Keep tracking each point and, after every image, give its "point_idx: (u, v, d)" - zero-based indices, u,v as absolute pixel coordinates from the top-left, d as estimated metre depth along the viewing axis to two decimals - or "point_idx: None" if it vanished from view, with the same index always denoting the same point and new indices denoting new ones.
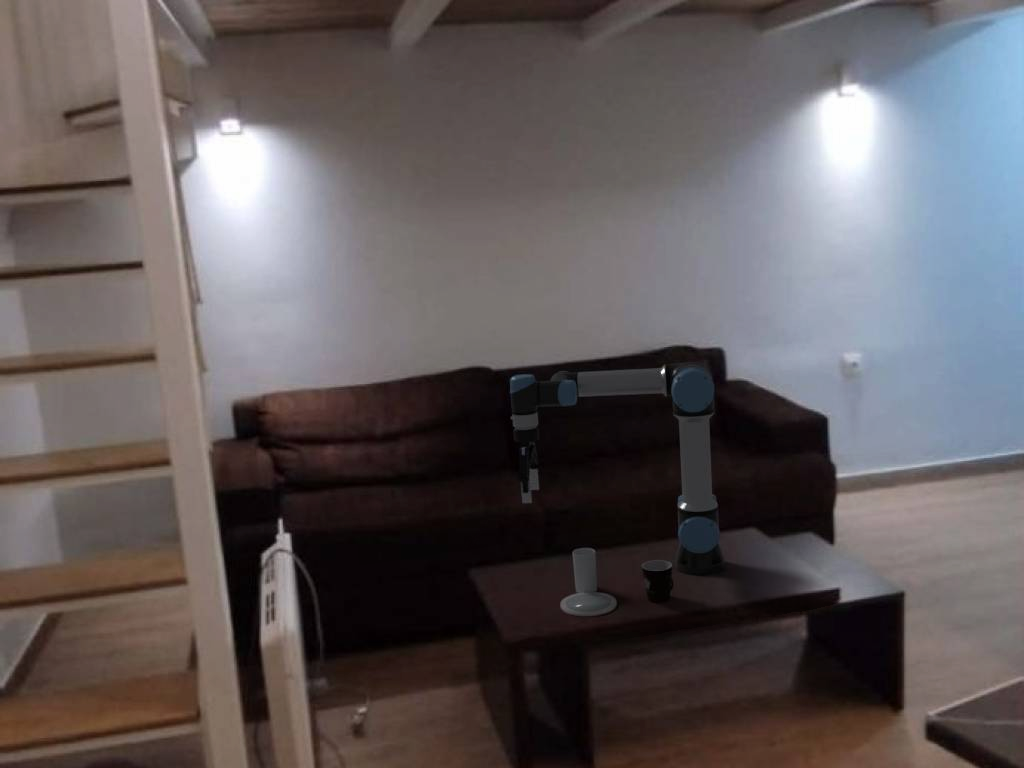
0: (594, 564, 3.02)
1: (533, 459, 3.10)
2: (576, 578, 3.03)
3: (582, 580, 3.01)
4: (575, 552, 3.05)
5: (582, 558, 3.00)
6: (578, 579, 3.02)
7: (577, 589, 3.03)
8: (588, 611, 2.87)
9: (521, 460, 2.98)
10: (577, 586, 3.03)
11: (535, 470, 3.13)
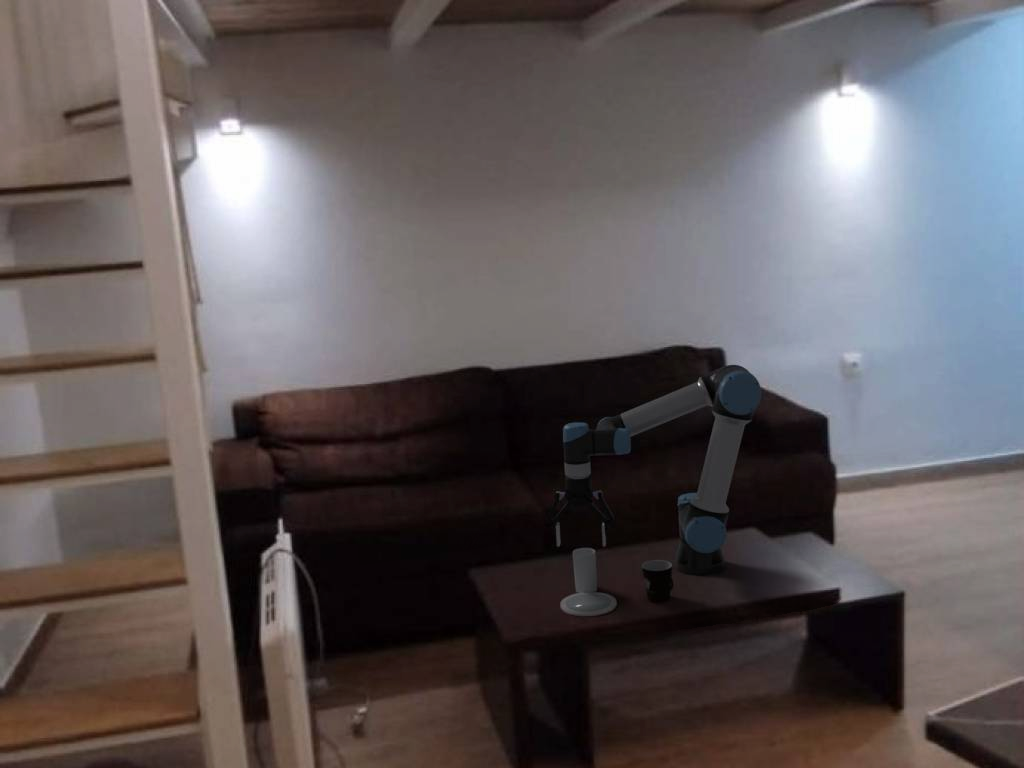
0: (594, 564, 3.02)
1: None
2: (576, 578, 3.03)
3: (582, 580, 3.01)
4: (575, 552, 3.05)
5: (582, 558, 3.00)
6: (578, 579, 3.02)
7: (577, 589, 3.03)
8: (588, 611, 2.87)
9: None
10: (577, 586, 3.03)
11: (602, 525, 3.01)
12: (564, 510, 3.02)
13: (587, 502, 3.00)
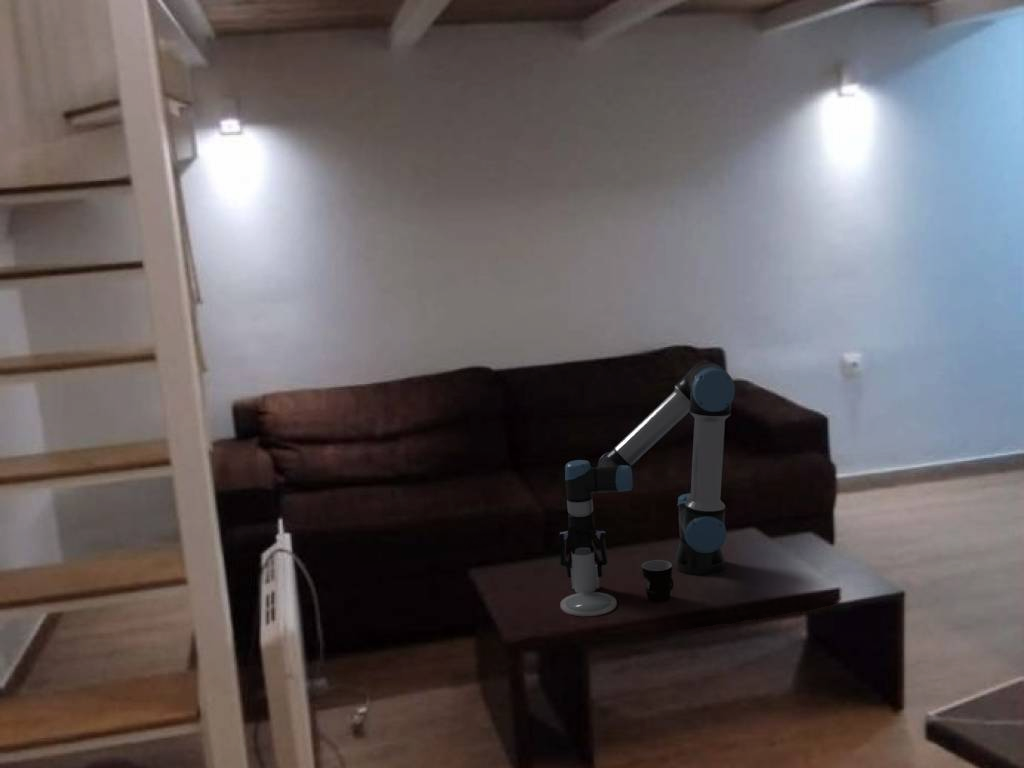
0: (593, 564, 3.02)
1: None
2: (575, 578, 3.03)
3: (581, 580, 3.01)
4: None
5: (581, 558, 3.00)
6: (577, 578, 3.02)
7: (576, 589, 3.03)
8: (588, 611, 2.87)
9: None
10: (576, 586, 3.03)
11: None
12: (573, 550, 3.04)
13: (588, 540, 3.02)
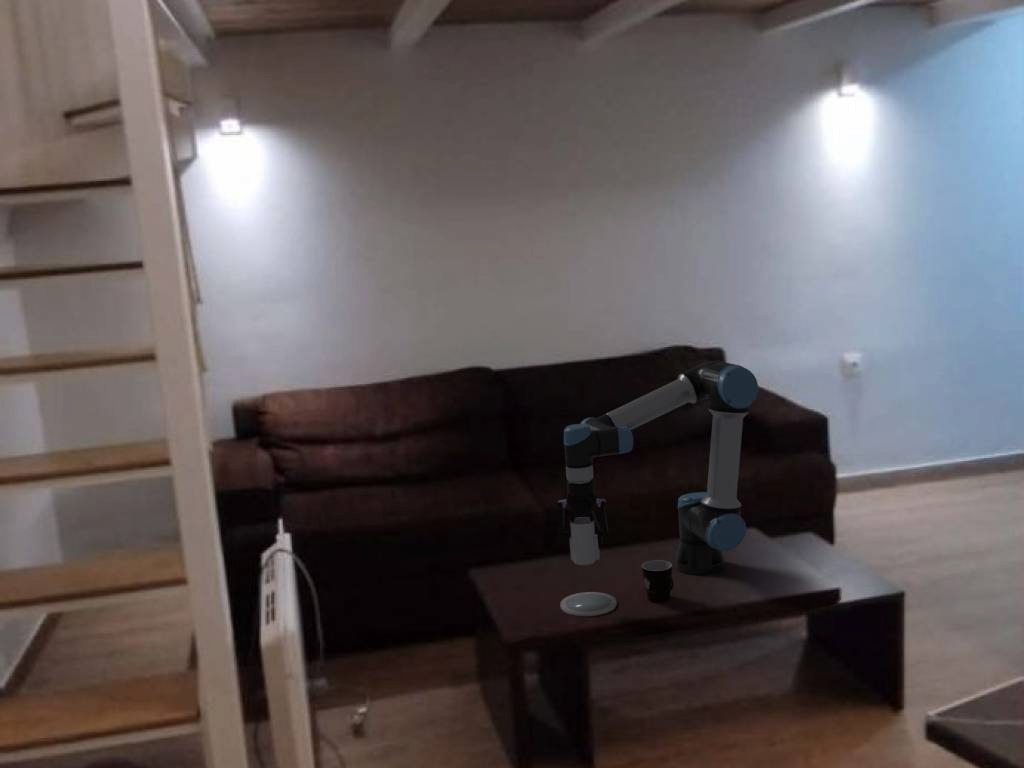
0: (593, 534, 2.86)
1: None
2: (574, 548, 2.87)
3: (580, 550, 2.86)
4: None
5: (580, 527, 2.85)
6: (576, 549, 2.87)
7: (575, 560, 2.88)
8: (588, 611, 2.87)
9: None
10: (575, 557, 2.88)
11: (595, 538, 2.89)
12: (572, 519, 2.88)
13: (588, 509, 2.87)
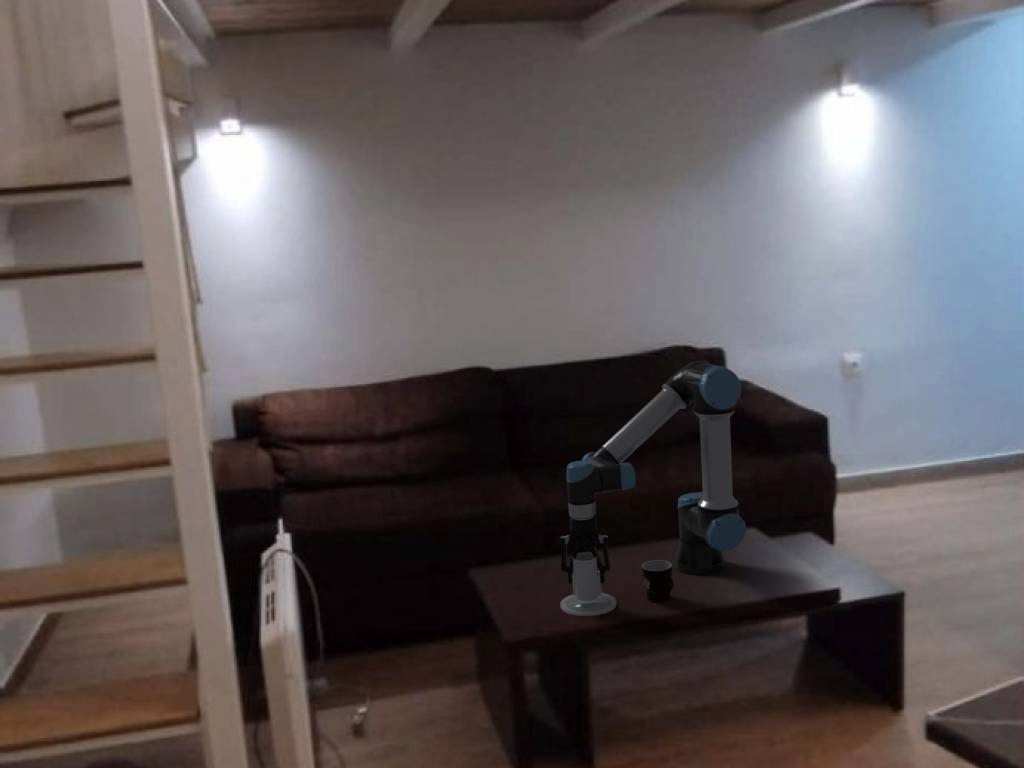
0: (595, 570, 2.88)
1: None
2: (576, 584, 2.89)
3: (582, 586, 2.88)
4: None
5: (582, 563, 2.86)
6: (578, 585, 2.88)
7: (577, 596, 2.90)
8: (588, 611, 2.87)
9: None
10: (577, 593, 2.90)
11: (597, 574, 2.91)
12: (574, 555, 2.90)
13: (591, 545, 2.88)
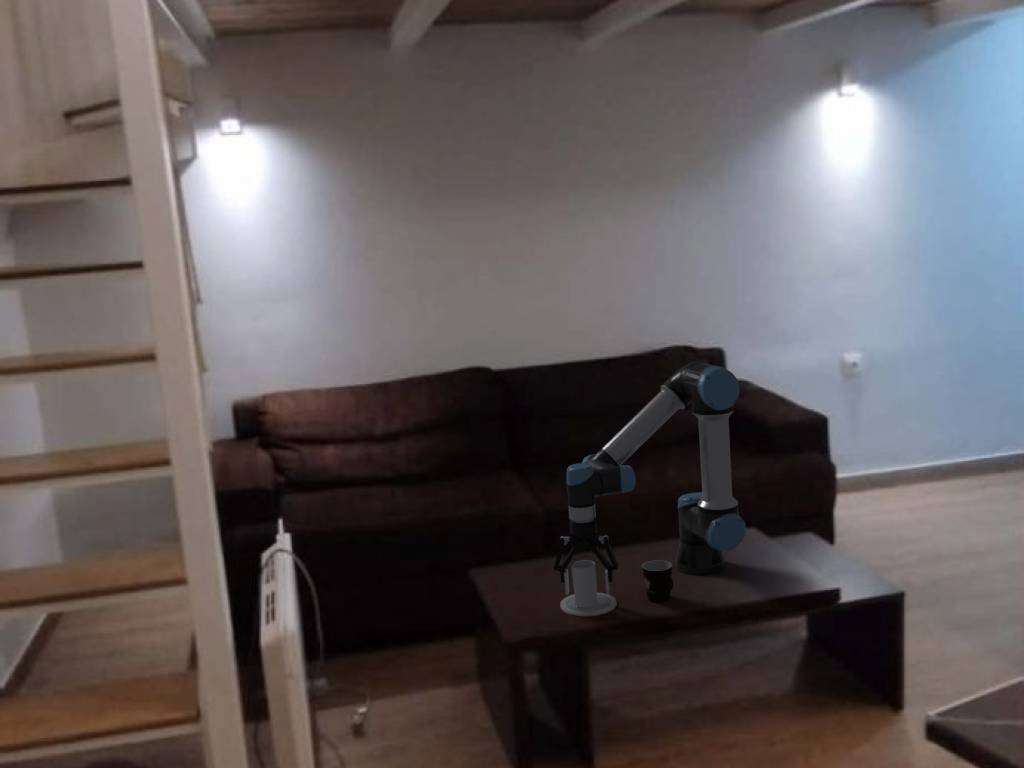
0: (594, 577, 2.89)
1: None
2: (575, 592, 2.90)
3: (582, 594, 2.88)
4: (574, 564, 2.92)
5: (581, 571, 2.87)
6: (577, 592, 2.89)
7: (577, 603, 2.90)
8: (588, 611, 2.87)
9: None
10: (577, 600, 2.90)
11: (605, 572, 2.90)
12: (571, 556, 2.90)
13: (592, 547, 2.88)
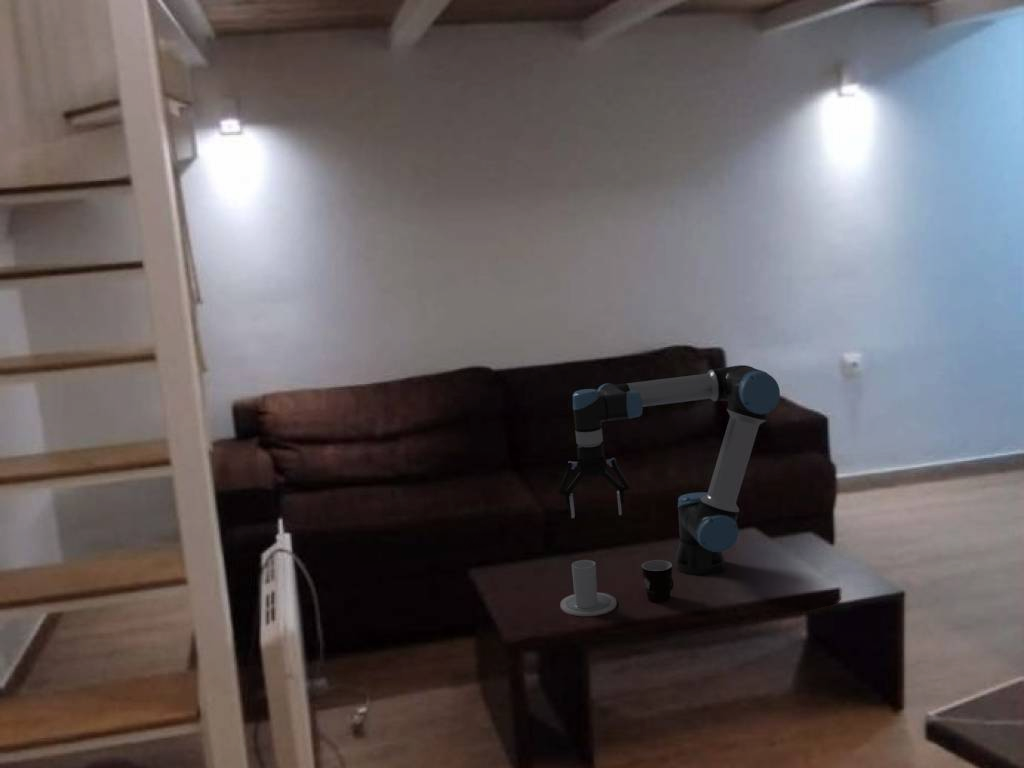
0: (594, 577, 2.89)
1: None
2: (575, 592, 2.90)
3: (582, 594, 2.88)
4: (574, 564, 2.92)
5: (581, 571, 2.87)
6: (577, 592, 2.89)
7: (577, 603, 2.90)
8: (588, 611, 2.87)
9: (566, 473, 2.95)
10: (577, 600, 2.90)
11: (617, 494, 2.93)
12: (577, 480, 2.93)
13: (601, 470, 2.91)
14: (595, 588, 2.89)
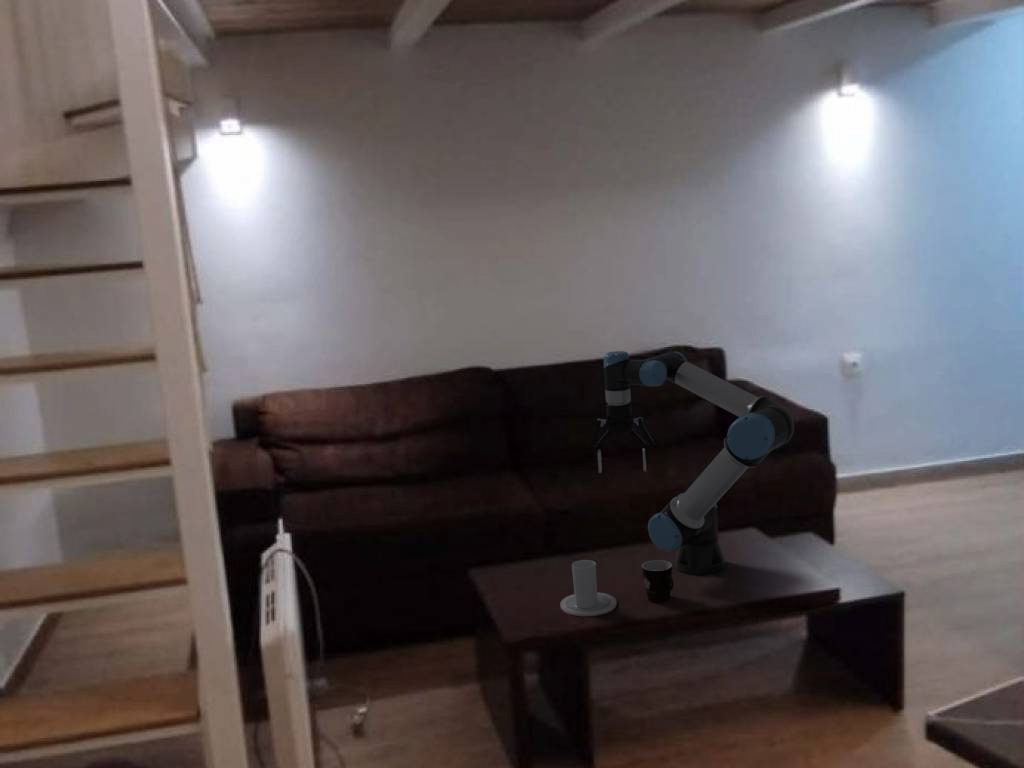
0: (594, 577, 2.89)
1: None
2: (575, 591, 2.90)
3: (582, 594, 2.88)
4: (575, 564, 2.92)
5: (582, 571, 2.87)
6: (577, 592, 2.89)
7: (577, 603, 2.90)
8: (588, 611, 2.87)
9: (595, 430, 3.13)
10: (576, 600, 2.90)
11: None
12: (605, 437, 3.11)
13: (628, 428, 3.09)
14: (595, 588, 2.89)
